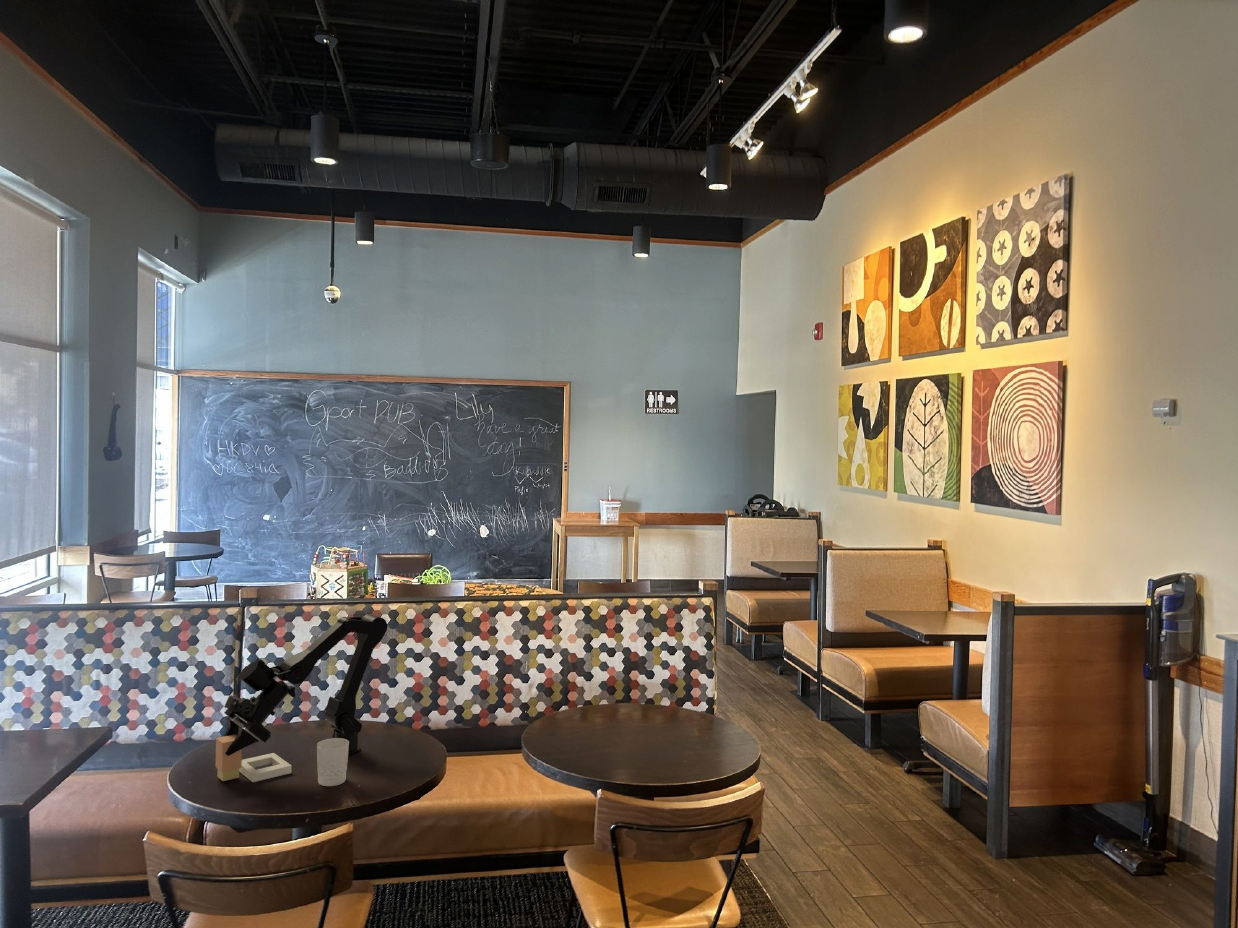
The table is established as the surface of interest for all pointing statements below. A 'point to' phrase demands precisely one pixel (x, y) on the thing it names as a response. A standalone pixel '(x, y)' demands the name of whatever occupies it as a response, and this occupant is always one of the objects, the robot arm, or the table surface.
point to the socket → (264, 767)
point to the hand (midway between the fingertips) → (223, 751)
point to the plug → (227, 759)
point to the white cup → (332, 761)
